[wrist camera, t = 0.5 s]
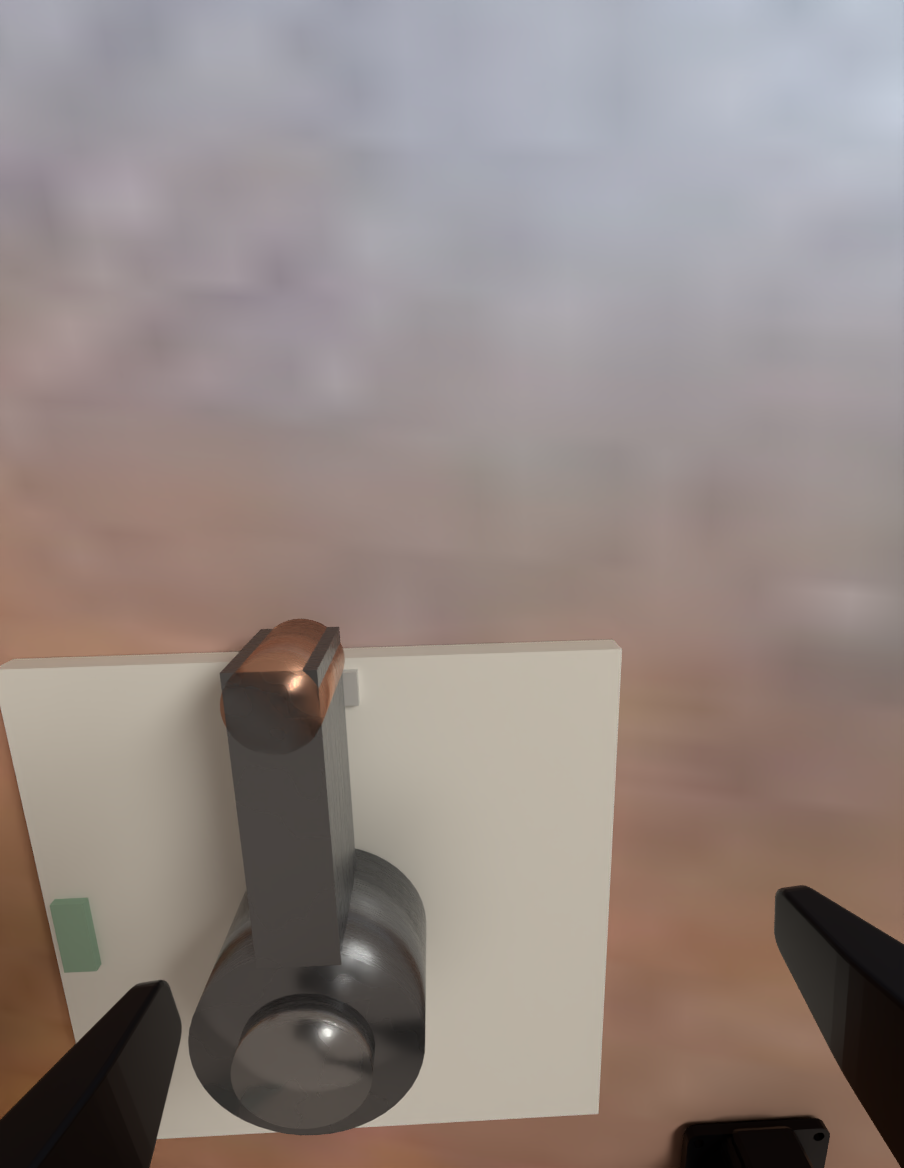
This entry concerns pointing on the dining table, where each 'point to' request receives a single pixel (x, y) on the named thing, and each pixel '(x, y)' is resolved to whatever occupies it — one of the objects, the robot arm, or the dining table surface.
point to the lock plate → (381, 826)
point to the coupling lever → (307, 912)
